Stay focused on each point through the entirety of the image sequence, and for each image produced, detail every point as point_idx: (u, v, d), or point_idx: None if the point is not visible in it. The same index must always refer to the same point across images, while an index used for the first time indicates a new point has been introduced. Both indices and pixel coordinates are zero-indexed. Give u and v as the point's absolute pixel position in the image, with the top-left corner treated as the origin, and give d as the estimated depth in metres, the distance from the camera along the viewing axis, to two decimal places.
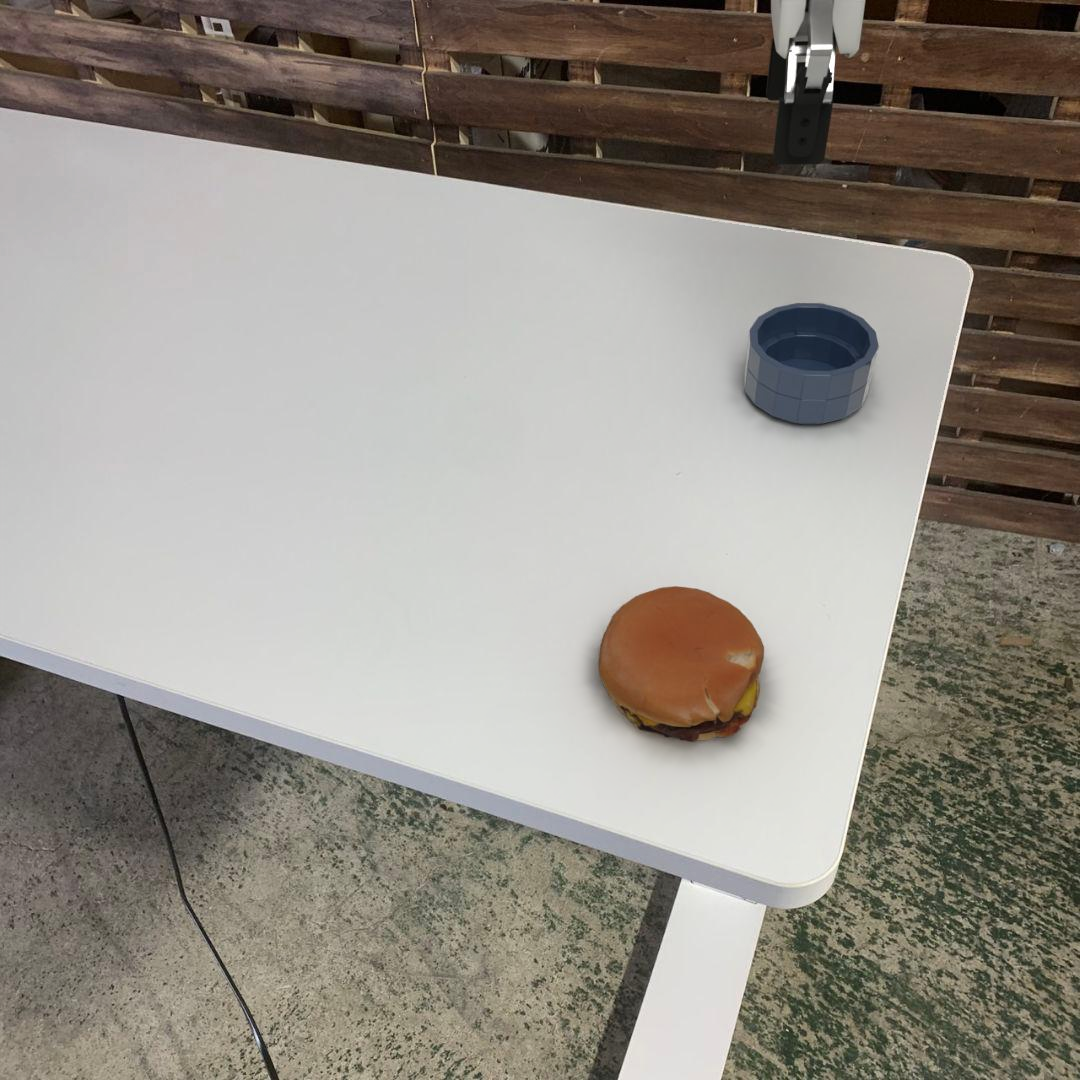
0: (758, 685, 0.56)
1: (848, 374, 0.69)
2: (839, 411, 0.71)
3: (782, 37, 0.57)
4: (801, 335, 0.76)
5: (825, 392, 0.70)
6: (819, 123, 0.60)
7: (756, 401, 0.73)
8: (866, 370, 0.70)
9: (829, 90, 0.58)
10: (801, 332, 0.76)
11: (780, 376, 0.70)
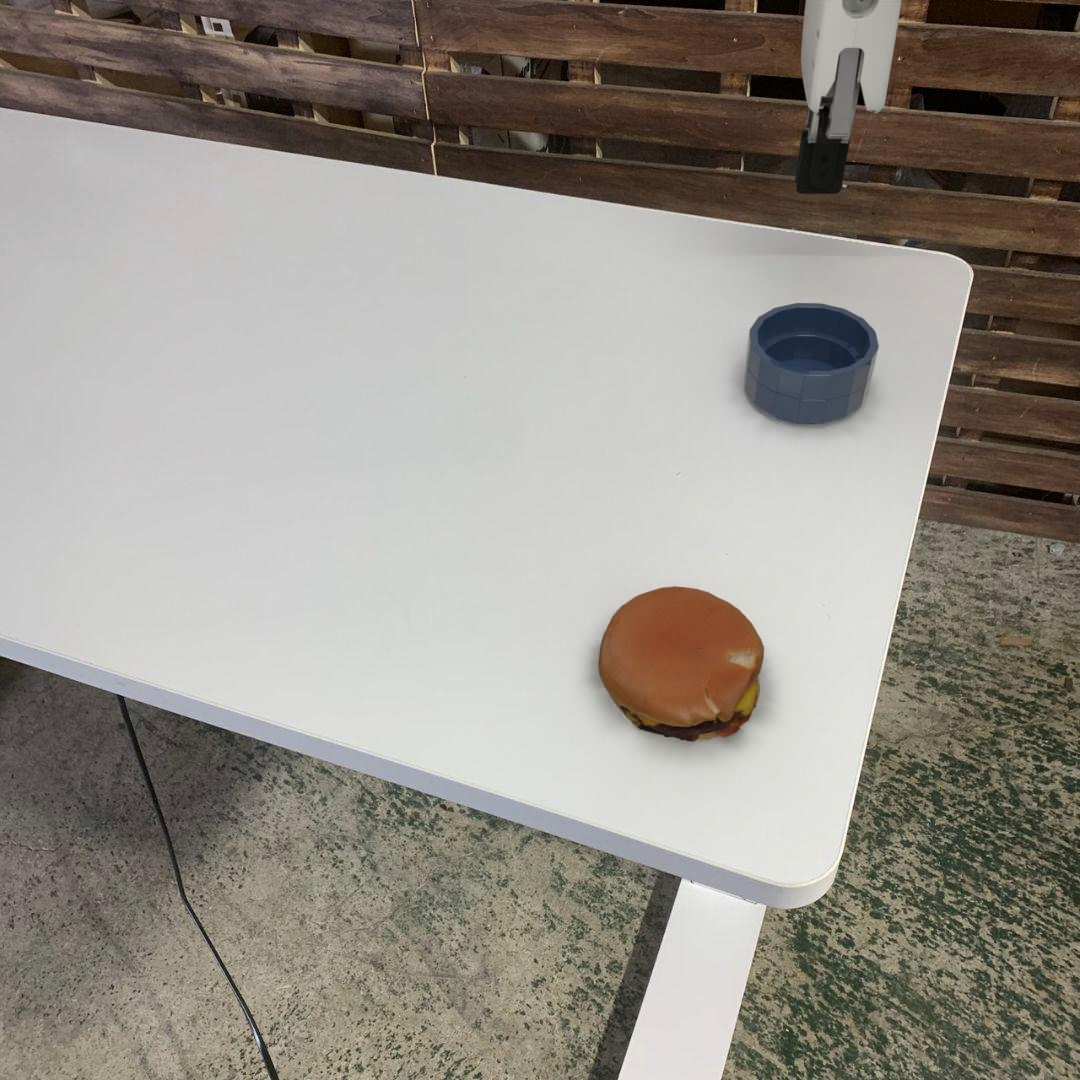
0: (758, 685, 0.56)
1: (848, 374, 0.69)
2: (839, 411, 0.71)
3: (814, 95, 0.63)
4: (801, 335, 0.76)
5: (825, 392, 0.70)
6: (837, 159, 0.69)
7: (756, 401, 0.73)
8: (866, 370, 0.70)
9: (846, 139, 0.67)
10: (801, 332, 0.76)
11: (780, 376, 0.70)
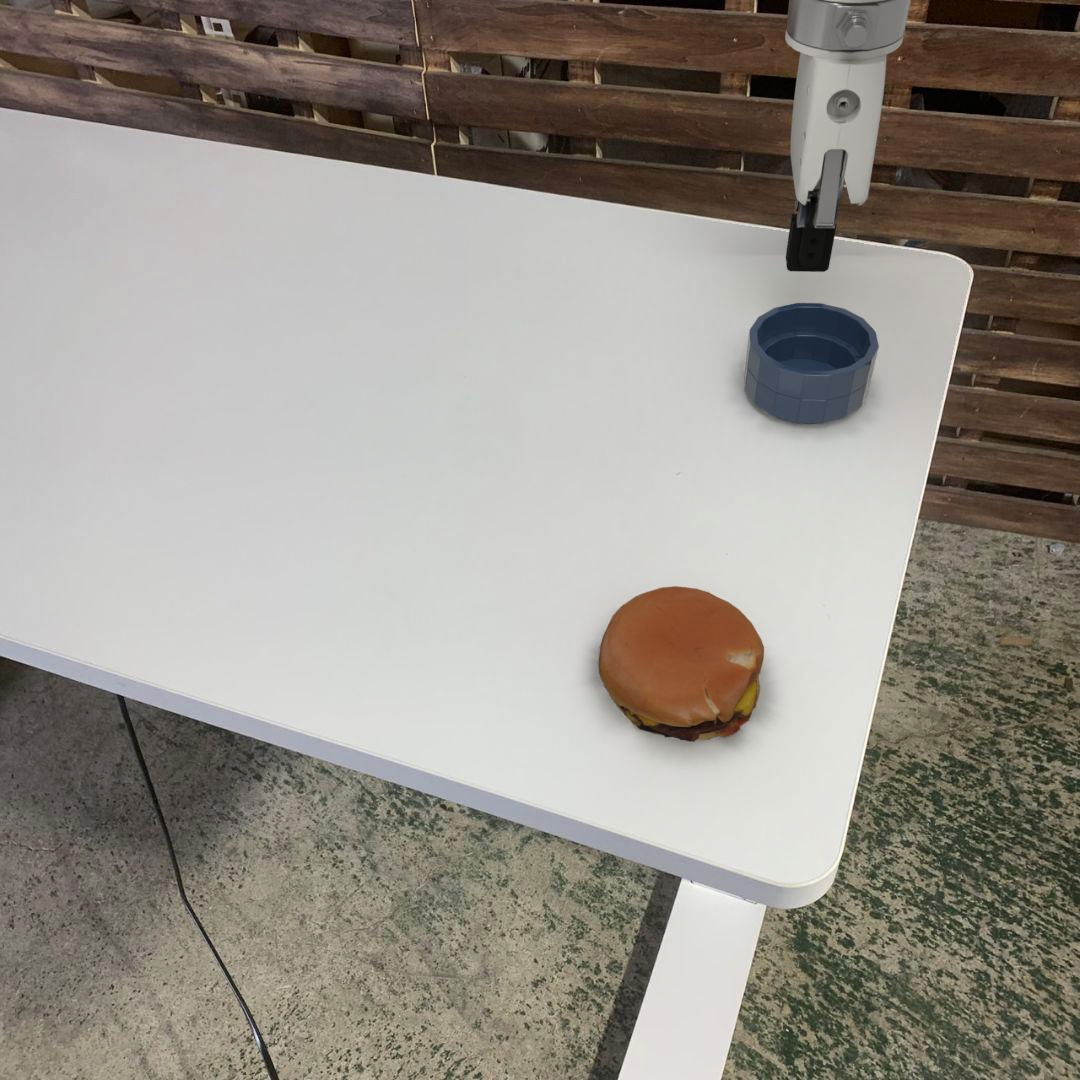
0: (758, 685, 0.56)
1: (848, 374, 0.69)
2: (839, 411, 0.71)
3: (802, 189, 0.67)
4: (801, 335, 0.76)
5: (825, 392, 0.70)
6: (825, 241, 0.74)
7: (756, 401, 0.73)
8: (866, 370, 0.70)
9: None
10: (801, 332, 0.76)
11: (780, 376, 0.70)
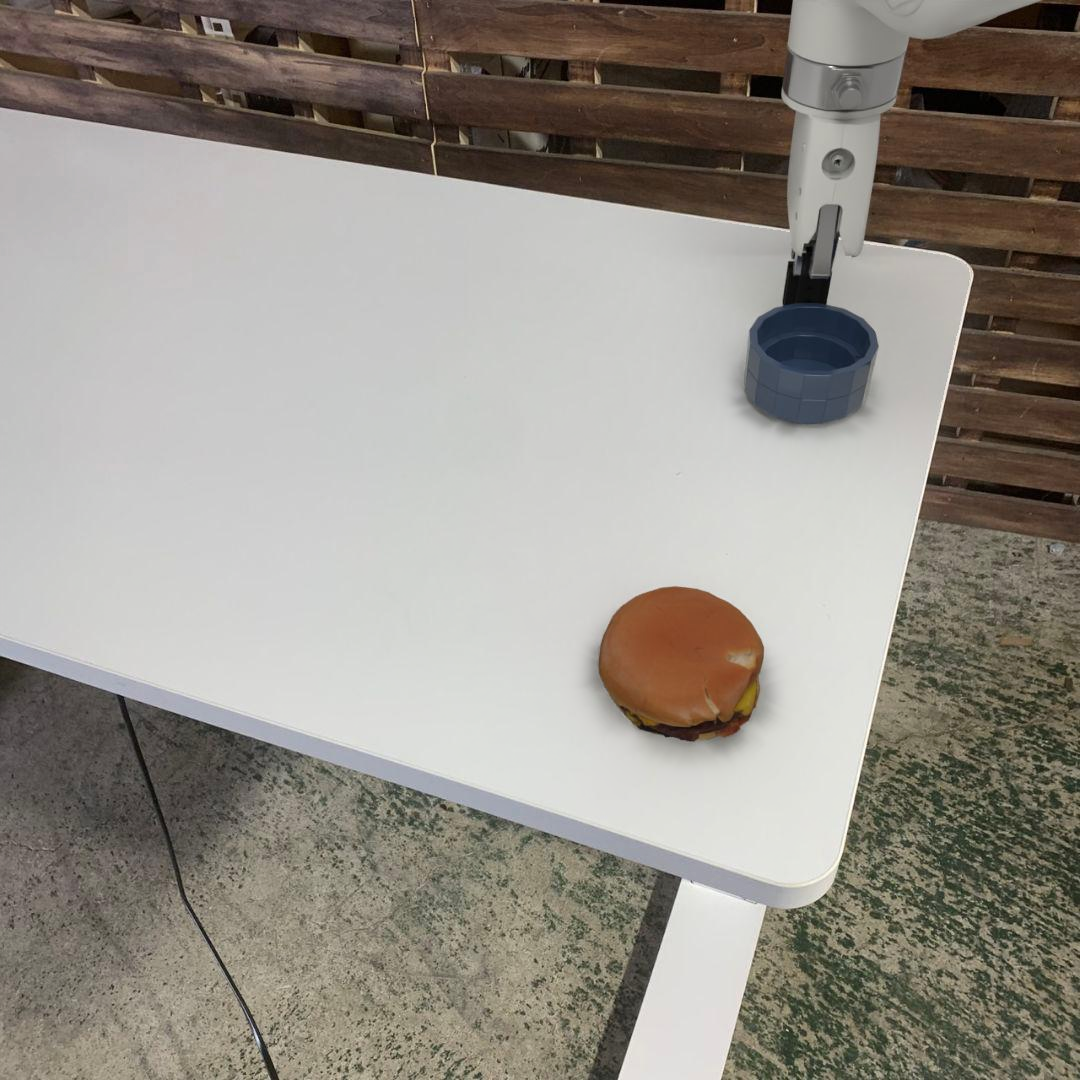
0: (758, 685, 0.56)
1: (848, 374, 0.69)
2: (839, 411, 0.71)
3: (797, 242, 0.68)
4: (801, 335, 0.76)
5: (825, 392, 0.70)
6: (821, 288, 0.75)
7: (756, 401, 0.73)
8: (866, 370, 0.70)
9: None
10: (801, 332, 0.76)
11: (780, 376, 0.70)
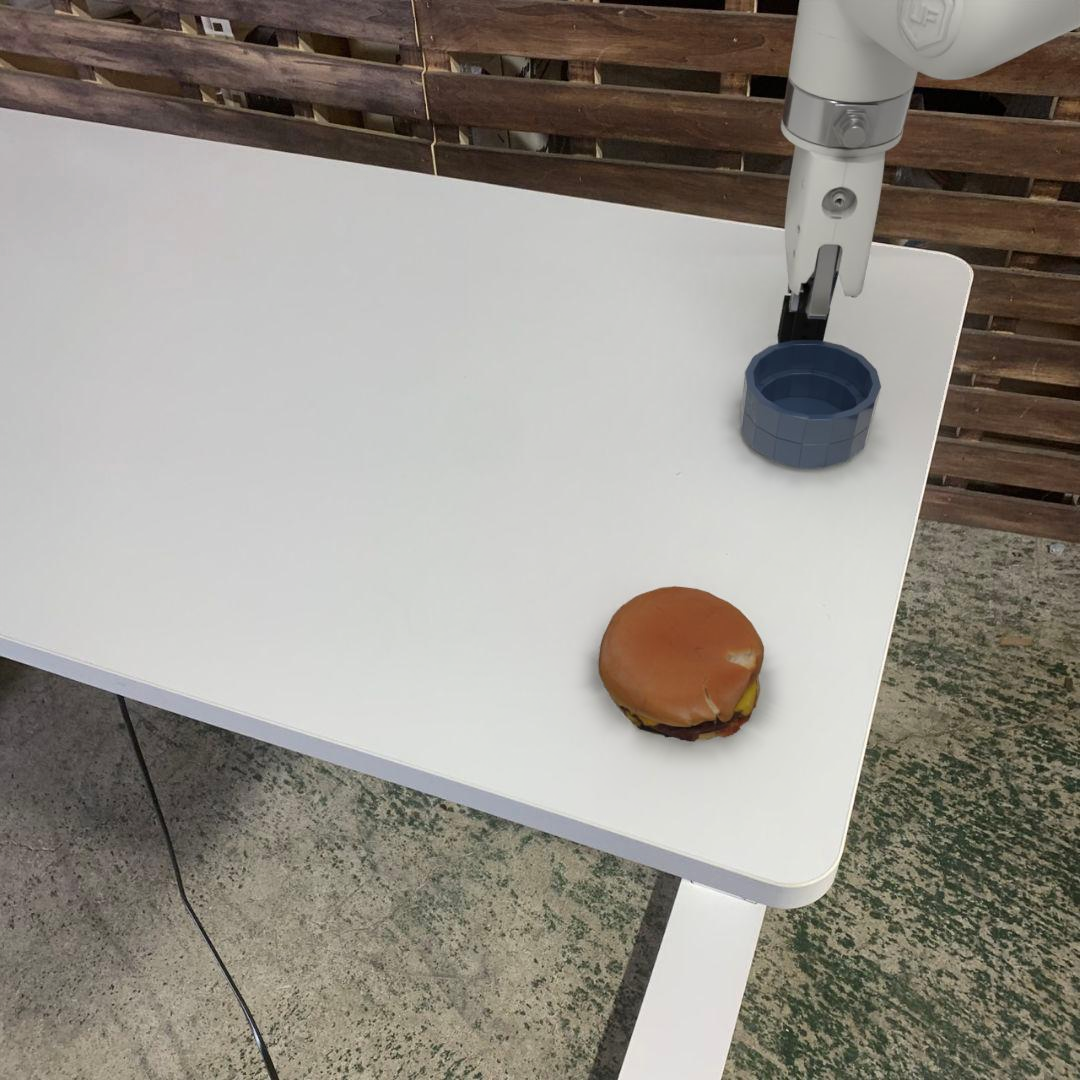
0: (758, 685, 0.56)
1: (851, 417, 0.66)
2: (842, 454, 0.68)
3: (795, 281, 0.65)
4: (797, 373, 0.72)
5: (828, 436, 0.66)
6: (818, 324, 0.72)
7: (754, 445, 0.70)
8: (870, 412, 0.67)
9: None
10: (797, 370, 0.73)
11: (780, 421, 0.66)
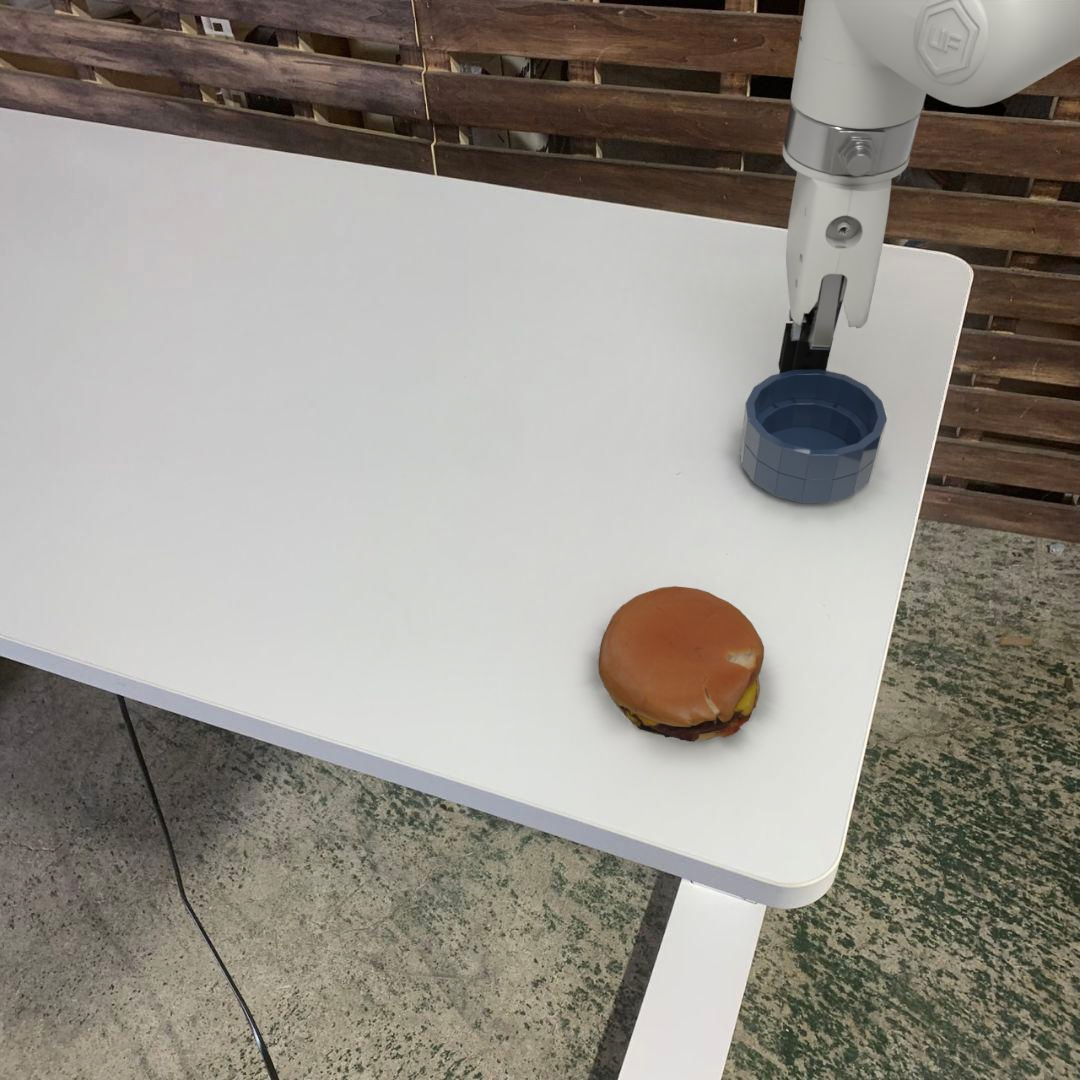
0: (758, 685, 0.56)
1: (856, 452, 0.63)
2: (847, 489, 0.66)
3: (797, 311, 0.62)
4: (800, 403, 0.70)
5: (832, 471, 0.64)
6: (820, 353, 0.69)
7: (755, 479, 0.67)
8: (875, 446, 0.64)
9: None
10: (799, 400, 0.70)
11: (783, 455, 0.64)
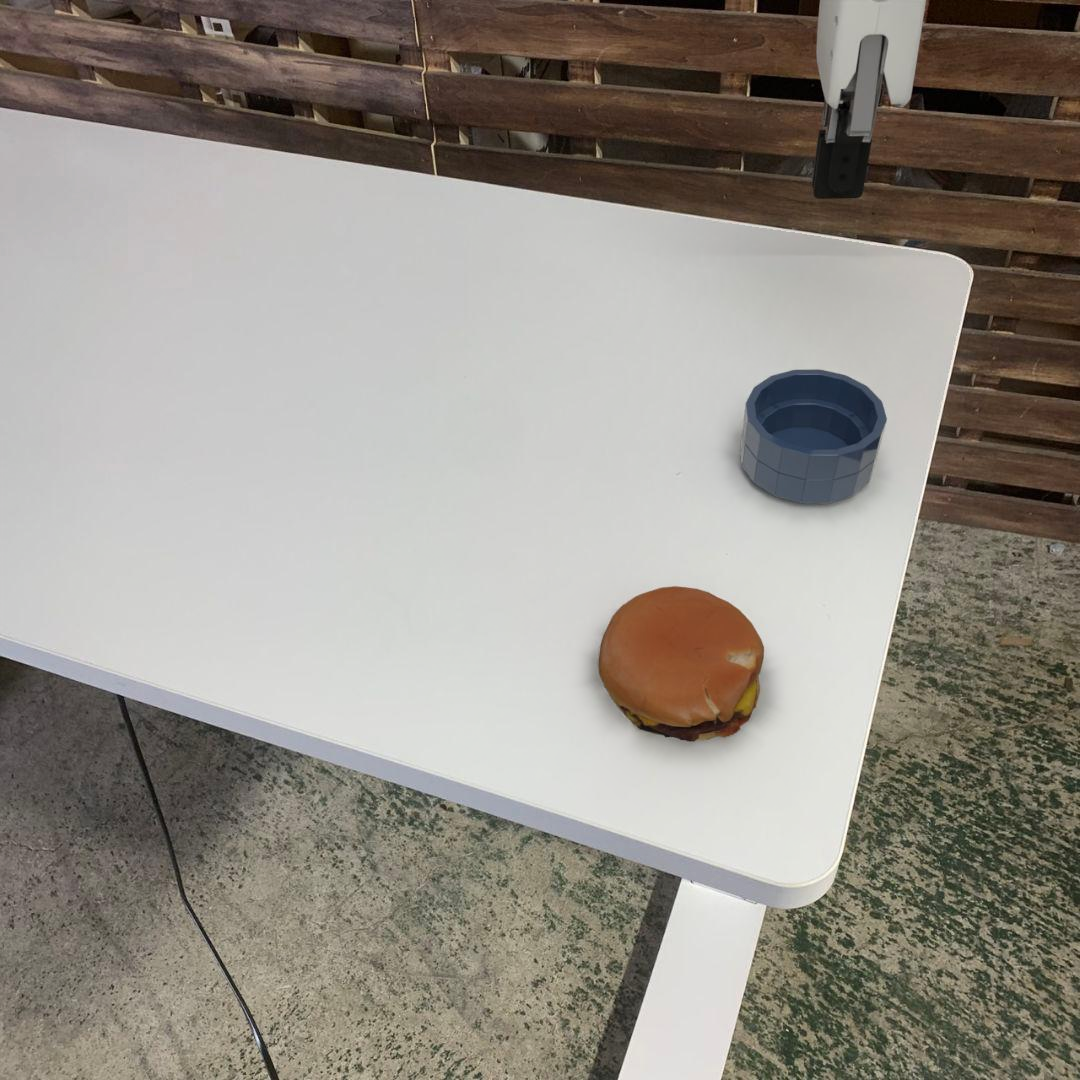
0: (758, 685, 0.56)
1: (856, 452, 0.63)
2: (846, 490, 0.66)
3: (833, 88, 0.57)
4: (800, 403, 0.70)
5: (832, 472, 0.64)
6: (858, 160, 0.64)
7: (756, 479, 0.67)
8: (875, 446, 0.64)
9: (867, 138, 0.62)
10: (799, 400, 0.70)
11: (783, 456, 0.64)
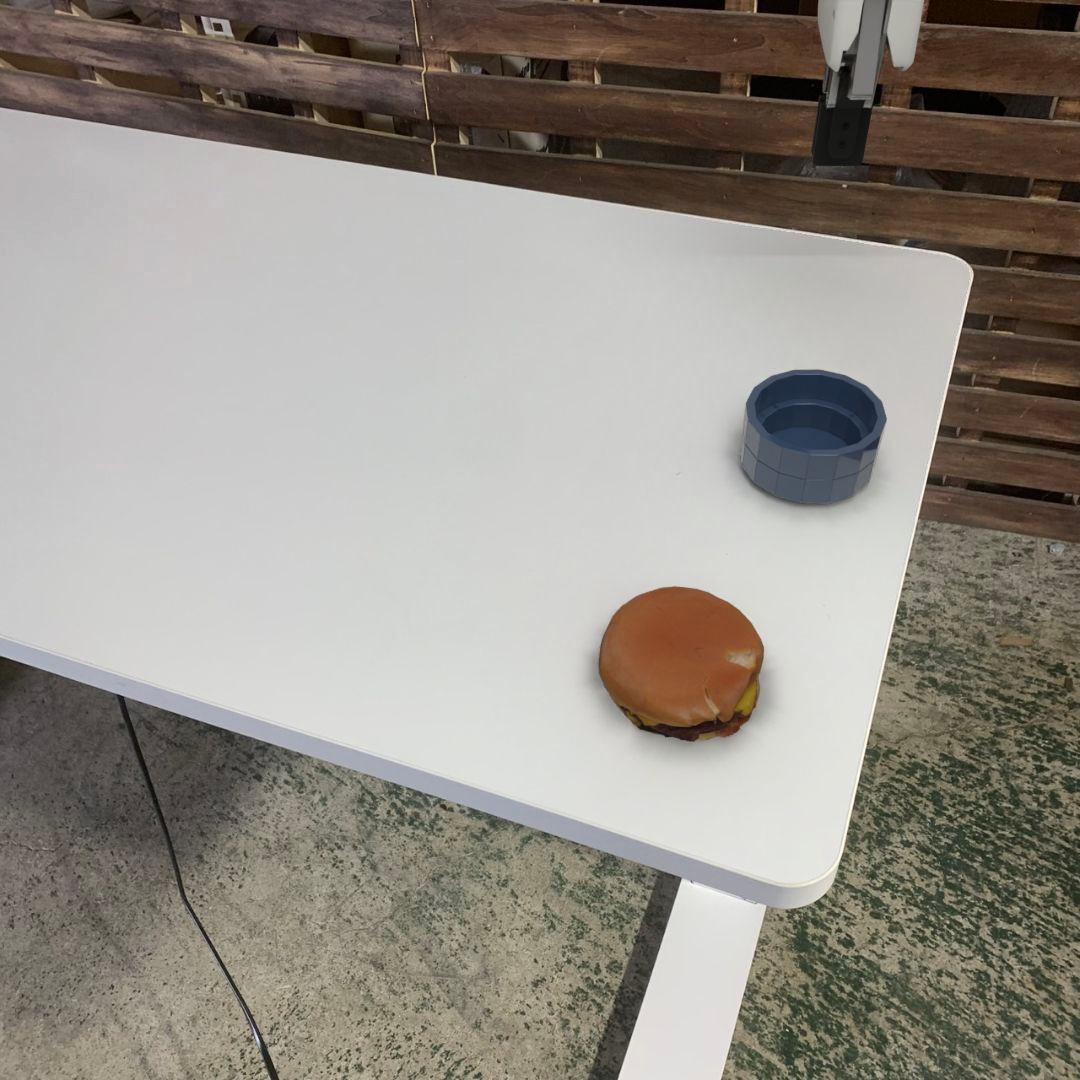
0: (758, 685, 0.56)
1: (856, 452, 0.63)
2: (846, 490, 0.66)
3: (835, 50, 0.56)
4: (800, 403, 0.70)
5: (832, 472, 0.64)
6: (859, 126, 0.62)
7: (756, 479, 0.67)
8: (875, 446, 0.64)
9: (869, 103, 0.60)
10: (799, 400, 0.70)
11: (783, 456, 0.64)
